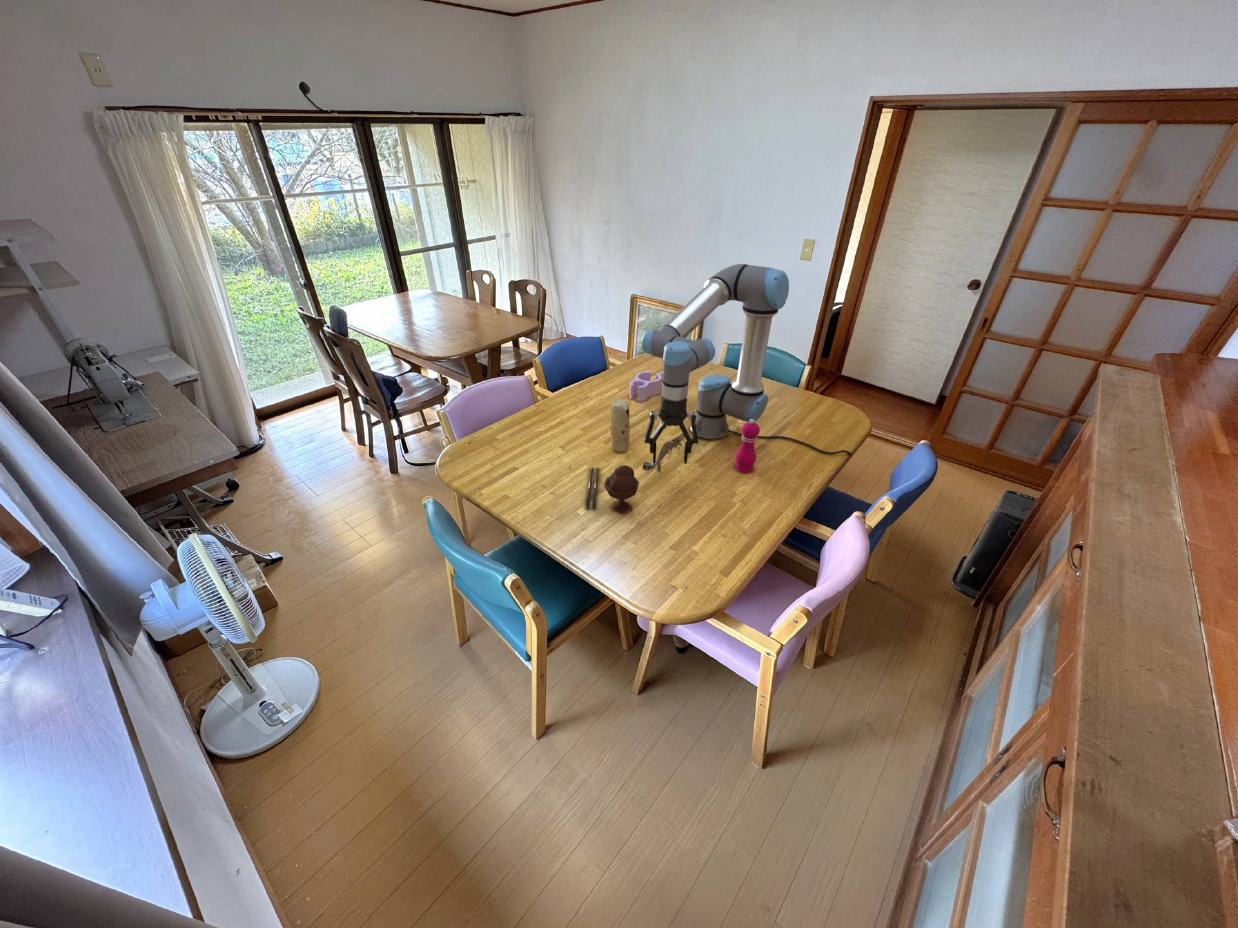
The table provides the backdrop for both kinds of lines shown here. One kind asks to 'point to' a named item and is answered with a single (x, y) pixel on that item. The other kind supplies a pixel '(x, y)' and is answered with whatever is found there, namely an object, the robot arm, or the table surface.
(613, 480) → the ice cream bowl
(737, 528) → the table surface
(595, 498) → the chopsticks
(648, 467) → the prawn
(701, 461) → the table surface
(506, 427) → the table surface
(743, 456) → the pepper mill
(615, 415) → the food model
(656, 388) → the clip
